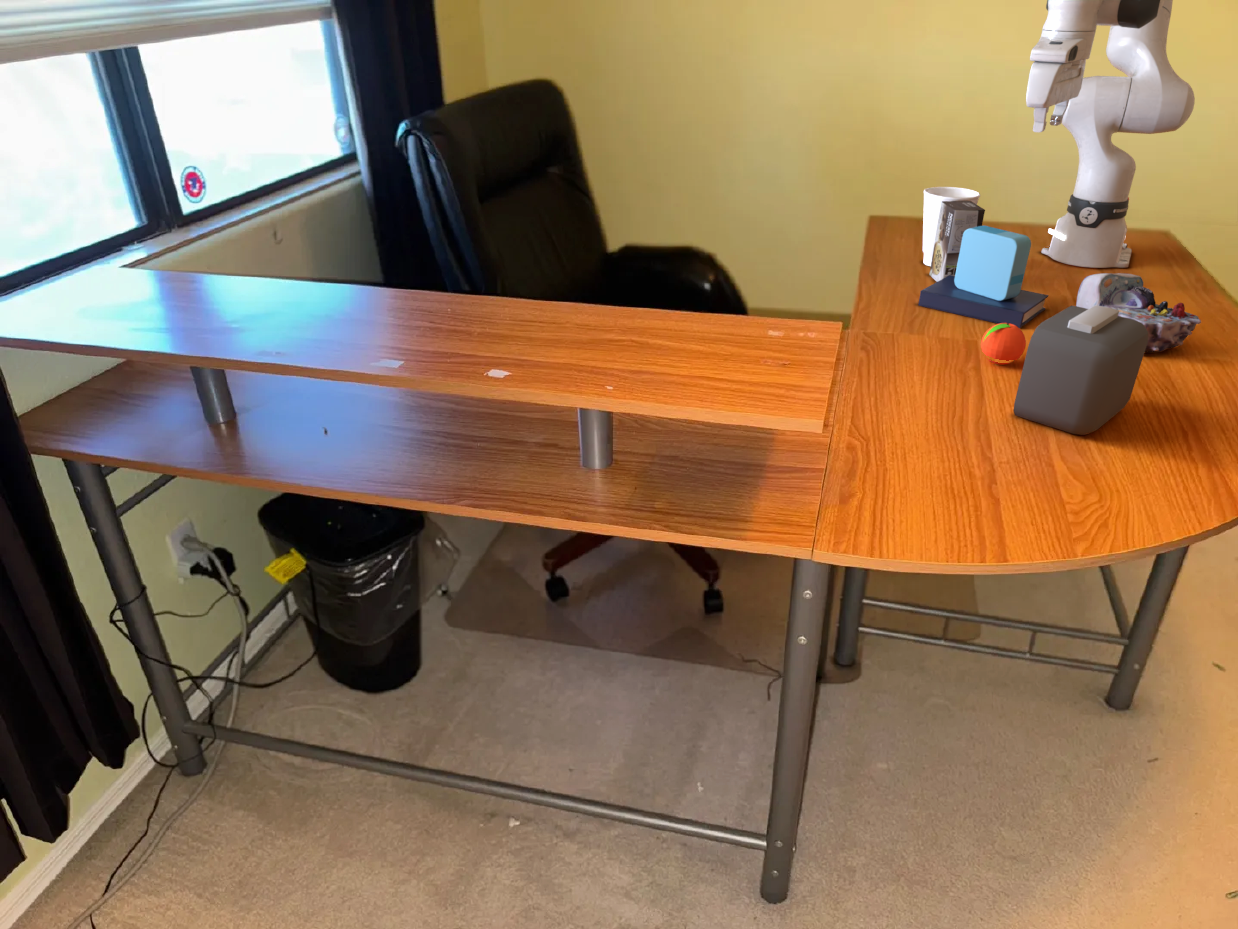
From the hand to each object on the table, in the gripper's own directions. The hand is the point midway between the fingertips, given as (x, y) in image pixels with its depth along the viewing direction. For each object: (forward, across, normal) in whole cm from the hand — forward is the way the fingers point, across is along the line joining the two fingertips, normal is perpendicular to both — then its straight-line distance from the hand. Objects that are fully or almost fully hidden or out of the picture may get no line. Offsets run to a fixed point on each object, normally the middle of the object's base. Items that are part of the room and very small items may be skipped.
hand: (1046, 128), depth 167 cm
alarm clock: (+31, +53, +28) cm, 68 cm away
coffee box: (+32, 0, -13) cm, 35 cm away
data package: (+29, +13, -1) cm, 32 cm away
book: (+32, +13, -1) cm, 35 cm away
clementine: (+32, +40, +12) cm, 53 cm away
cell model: (+32, +14, +25) cm, 43 cm away
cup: (+33, -11, -20) cm, 40 cm away
